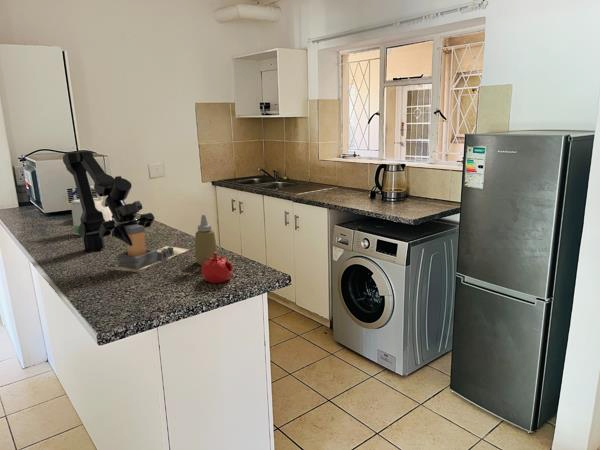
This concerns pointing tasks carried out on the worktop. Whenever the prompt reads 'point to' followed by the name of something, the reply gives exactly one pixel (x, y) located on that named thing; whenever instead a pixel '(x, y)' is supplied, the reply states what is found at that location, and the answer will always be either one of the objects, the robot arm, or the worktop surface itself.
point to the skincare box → (76, 214)
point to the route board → (146, 258)
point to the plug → (136, 240)
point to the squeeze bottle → (204, 242)
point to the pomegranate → (217, 269)
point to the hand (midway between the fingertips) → (138, 243)
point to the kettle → (100, 206)
